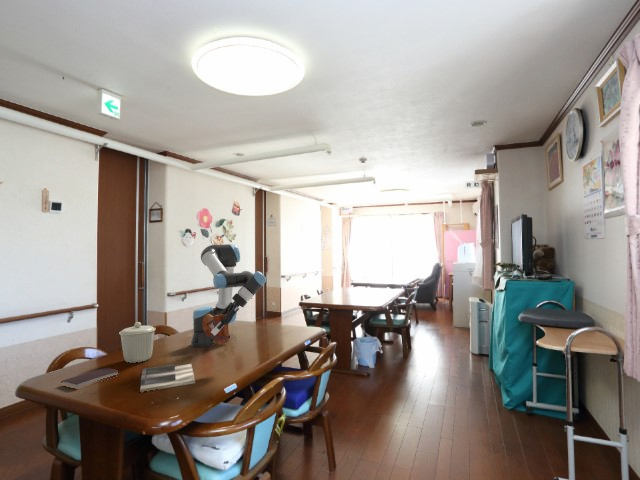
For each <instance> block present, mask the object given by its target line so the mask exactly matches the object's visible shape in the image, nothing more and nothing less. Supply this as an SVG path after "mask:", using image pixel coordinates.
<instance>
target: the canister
mask: <svg viewBox="0 0 640 480" xmlns="http://www.w3.org/2000/svg"><path fill="white" fill-rule="evenodd" d="M155 331H156V327H153V325H142V323H141V322H139V321H136V322H135V323H134V324H133V326H129V327H126V328H124V329H122V330H121V331H119V332H118V334H119V335H120V342H121V348H122V354H123V359H124V360H125V362H126V363H128V362H129V364H136V362H138V363H142V361H143V362H146V361H148V360H150V359H151V357H152V355H153V348H154V341H155V340H154V339H155Z"/></svg>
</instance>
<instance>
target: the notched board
mask: <svg viewBox="0 0 640 480" xmlns="http://www.w3.org/2000/svg"><path fill="white" fill-rule="evenodd" d="M191 384H196V379H195V374H194V370H193V366H192V363H188V364H182V365H181V364H180V365H175V364H167V365H160V366H154V367H148V368H143V369H142V372H141V377H140V389H139V392H141V393H145V392H144V391H147V392H151V391H150V390H153V391H157V390H156V389H158V390H163V389H168V388H169V389H170V388H174V387H179V386H187V385H191Z"/></svg>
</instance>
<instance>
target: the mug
mask: <svg viewBox="0 0 640 480" xmlns="http://www.w3.org/2000/svg"><path fill="white" fill-rule="evenodd" d="M225 315H226V314H220V315H215V316H212V315H211V314H207V315H205V317H204V319H203V329H204V332H205V333H206V334H207V336H212V335H213V334H212V333H211V331H212V329H211V328H210V326H209V323H210V322H211V321H213V325H214V328H215V327H216V326H217V325H218V323H219V322H220V320H223V318H224V317H225ZM229 332H230V331H229V324H227V325H224V326H223V328H222V329H221V330H220V331H219V332H218V333H217V334H216V335H214V336H213V340H214V343H215V344H214V345H221V346H222V345H225V344H228V343H229V342H230V339H231V333H229Z"/></svg>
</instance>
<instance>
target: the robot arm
mask: <svg viewBox="0 0 640 480" xmlns="http://www.w3.org/2000/svg"><path fill="white" fill-rule="evenodd" d="M200 260H201V263H202V264H203V265H204V266H205V267H207V268H208V269H209V271H210V272H211V275H212V276H213V278H212V282H213V287H214V288H215V289H218V296H217V297H218V300H217V302H216V303H215V307H214V308H213V306H211V305H207V306H201V307H198V308H196V309H194V310H193V313H192V319H193V320H192V321H193V323H192V326H193V334H192V337H191V340H190V346H191V347H192V348H207V347H210V346H213V345H216V344H215V343H214V340H213V336H214V335H216V334H217V333H218V332H219V331H220V330H221V329H222V328H223V326H224V325H227V324H228V325H230V324H233V323H235V321H236V320H237V315H238V313H237V312H238V311H239V310H240V308H239V307H241V308H244V307H245V306H246V305H247V304H248V302H249V301H250V300H251V299H253V297H254V296H255V295H256V294H257V293H258V292H259V290H260V289H261V288H262V287H263V286H264V285H265V283H266V282H267V281H268V280H267V277H266V276H265V275H264V274H263V273H262V272H261V271H258V270H257V271H255V272H253V273H252V271H249V270H244V271H241V272H234V269H235V267H236V266H237V264H238V263H239V262H240V260H241V253H240V249H239V247H238V246H237V244H231V243H228V244H209V245H208V246H207V247H205V248H203V250H202V252H201V254H200ZM233 288H239V289H238V291H237V293H234V295H233ZM207 314H211V315H212V316H215V315H220V314H226V315H225V317H224V318H223V320H220V322H219V323H218V325H217V326H216V327H215V328H214V325H213V321H211V322H210V323H209V326H210V328H211V329H212V331H211V333H212V334H213V335H212V336H207V334H206V333H205V332H204V329H203V319H204V317H205V315H207Z"/></svg>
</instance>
